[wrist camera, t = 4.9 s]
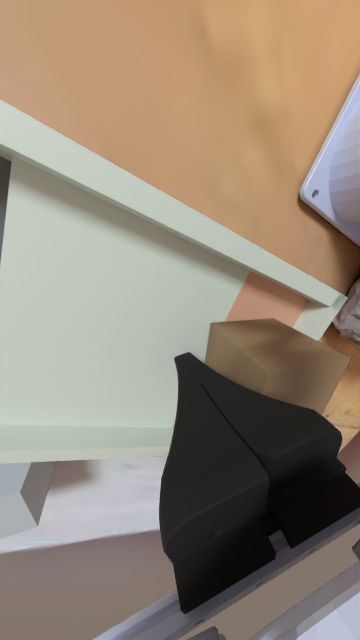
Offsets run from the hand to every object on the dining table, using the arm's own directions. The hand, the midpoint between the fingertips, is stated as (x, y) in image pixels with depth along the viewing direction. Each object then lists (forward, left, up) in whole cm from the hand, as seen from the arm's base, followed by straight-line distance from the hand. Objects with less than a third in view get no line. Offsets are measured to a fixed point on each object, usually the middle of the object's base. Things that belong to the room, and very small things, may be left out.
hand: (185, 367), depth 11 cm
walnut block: (-4, -1, -1) cm, 4 cm away
